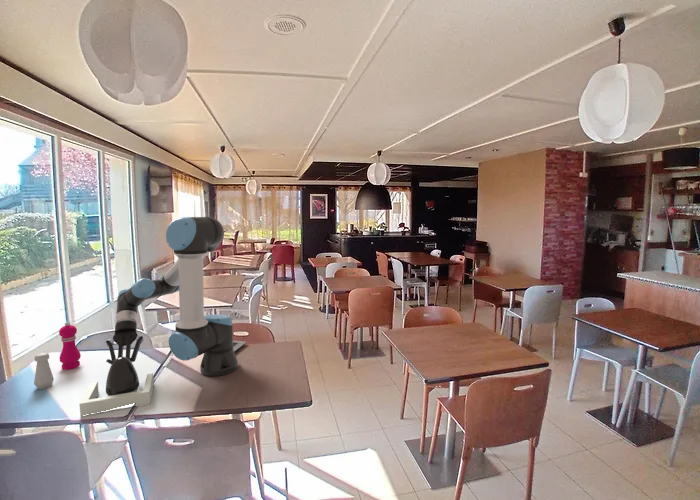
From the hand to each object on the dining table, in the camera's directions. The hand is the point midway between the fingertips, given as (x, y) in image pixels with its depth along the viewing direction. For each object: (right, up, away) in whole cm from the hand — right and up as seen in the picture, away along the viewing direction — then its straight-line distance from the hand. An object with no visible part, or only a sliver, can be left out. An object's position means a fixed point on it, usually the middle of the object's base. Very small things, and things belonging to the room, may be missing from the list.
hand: (122, 380), depth 137 cm
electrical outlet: (+27, 0, +42) cm, 50 cm away
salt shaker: (-32, -4, +3) cm, 32 cm away
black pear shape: (+3, -5, -5) cm, 8 cm away
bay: (+2, -5, -5) cm, 7 cm away
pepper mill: (-35, -2, +21) cm, 41 cm away
